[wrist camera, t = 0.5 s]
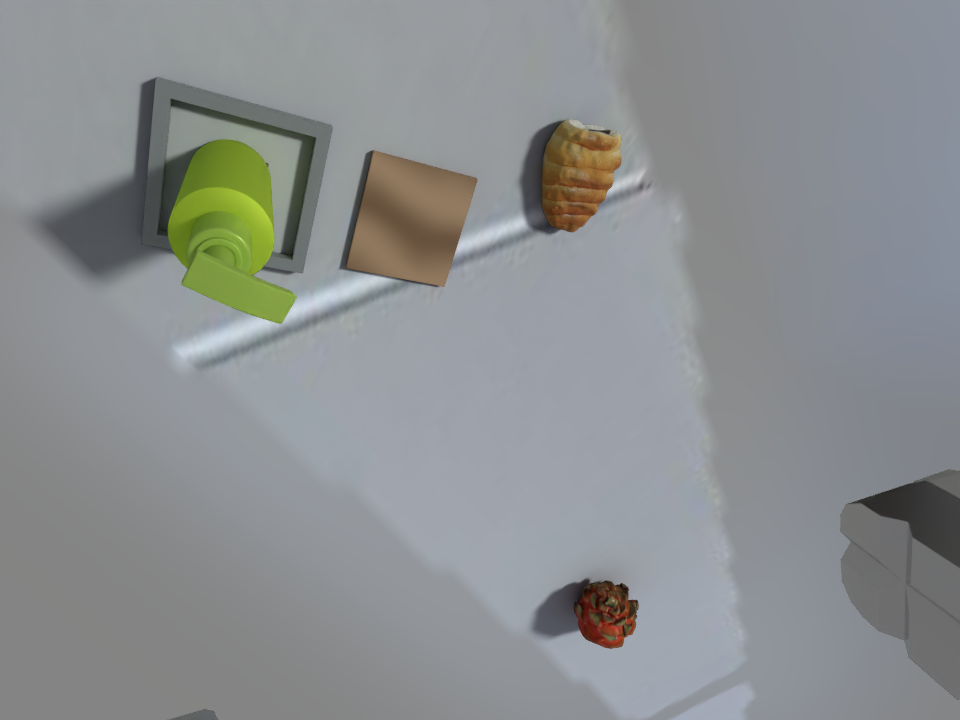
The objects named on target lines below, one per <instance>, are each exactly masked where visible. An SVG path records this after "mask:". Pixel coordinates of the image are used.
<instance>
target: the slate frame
mask: <svg viewBox="0 0 960 720" xmlns="http://www.w3.org/2000/svg"><path fill="white" fill-rule="evenodd" d="M172 99H174V100H178V101H182V102H186V103H189V104H193V105H197V106H201V107H204V108H208V109H212V110H216V111H219V112H223V113H227V114H230V115H234V116H238V117H242V118H245V119H249V120H253V121H257V122H260V123H264V124H268V125H272V126H275V127H279V128H283V129H286V130H290V131H294V132H298V133H301V134H305V135H309V136H313V137H315V141H314V146H313V151H312V156H311V161H310V166H309V172H308V177H307V182H306V187H305V192H304V197H303V202H302V207H301V212H300V218H299V223H298V228H297V233H296V238H295V243H294V248H293V253H292V256H291V255H286V254H281V253H275V252H272V254H271V256H270V258H269V260H268V261H267V263H266V264H265V265H264V267H270V268H275V269H281V270H286V271H292V272H297V273H303V270H304V265H305V260H306V255H307V250H308V245H309V241H310V236H311V231H312V226H313V221H314V216H315V211H316V207H317V202H318V197H319V192H320V187H321V182H322V177H323V173H324V168H325V163H326V158H327V153H328V148H329V143H330V139H331V134H332V129H333V127H332V125H328V124H325V123H321V122H318V121H314V120H310V119H307V118H303V117H300V116H296V115H292V114H289V113H285V112H282V111H278V110H274V109H271V108H267V107H264V106H260V105H256V104H253V103H249V102H246V101H242V100H239V99H235V98H231V97H228V96H224V95H221V94H217V93H213V92H210V91H206V90H203V89H199V88H195V87H192V86H188V85H185V84H181V83H177V82H174V81H170V80H167V79H163V78H159V77H157V78H156V81H155V92H154V103H153V115H152V126H151V137H150V149H149V160H148V171H147V182H146V194H145V205H144V216H143V228H142V239H141V244H143V245H148V246H154V247H159V248H165V249H170V250H172V248H171V245H170V242H169V238H168V232H166V231H160V230H159V222H160V212H161V202H162V192H163V182H164V172H165V162H166V152H167V142H168V132H169V122H170V112H171V102H172ZM266 165H267V167H268V163H266Z"/></svg>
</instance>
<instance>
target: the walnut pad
mask: <svg viewBox="0 0 960 720" xmlns="http://www.w3.org/2000/svg"><path fill="white" fill-rule="evenodd" d="M477 180H478V179H476V178H474V177H470V176H467V175H463V174H459V173H455V172H452V171H448V170H444V169H441V168H437V167H433V166H429V165H426V164H422V163H418V162H415V161H411V160H407V159H403V158H400V157H396V156H392V155H389V154H385V153H381V152H377V151H374V150H373V152H372V156H371V160H370V165H369V169H368V173H367V178H366V182H365V186H364V190H363V195H362V199H361V203H360V207H359V212H358V216H357V220H356V224H355V229H354V233H353V237H352V241H351V246H350V250H349V254H348V258H347V263H346V268H348V269H354V270H359V271H364V272H369V273H375V274H380V275H385V276H390V277H396V278H401V279H406V280H411V281H417V282H422V283H427V284H433V285H438V286H443V287H444V286H445V283H446V280H447V277H448V273H449V270H450V267H451V264H452V261H453V257H454V254H455V251H456V248H457V244H458V241H459V238H460V235H461V231H462V228H463V225H464V222H465V219H466V215H467V212H468V209H469V206H470V202H471V199H472V196H473V193H474V190H475V186H476V183H477Z"/></svg>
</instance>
